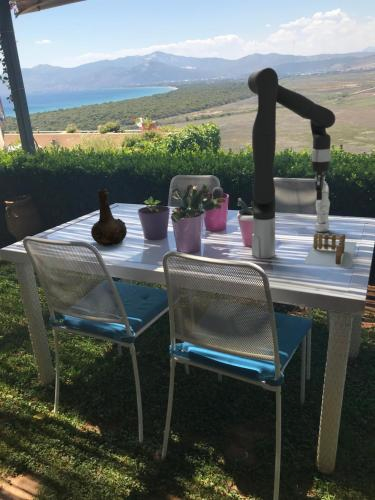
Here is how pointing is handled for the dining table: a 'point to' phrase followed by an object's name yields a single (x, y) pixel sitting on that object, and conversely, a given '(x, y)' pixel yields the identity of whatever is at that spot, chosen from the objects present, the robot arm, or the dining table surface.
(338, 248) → the fence fixed
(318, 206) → the plastic bottle
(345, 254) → the card
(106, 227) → the brown long-necked vase
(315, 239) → the fence gate
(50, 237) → the dining table surface
